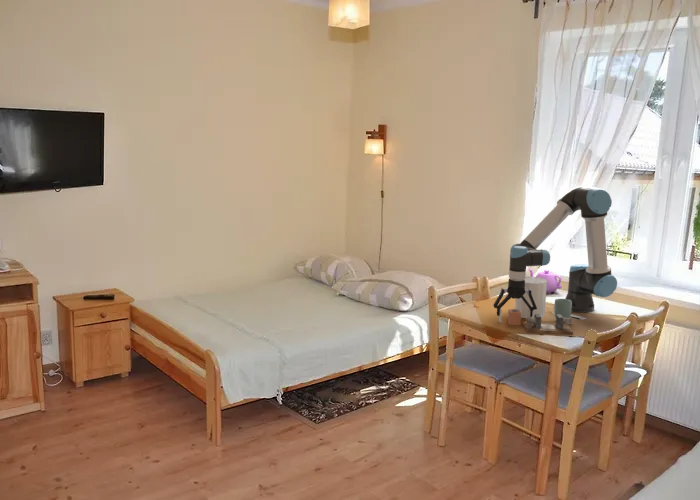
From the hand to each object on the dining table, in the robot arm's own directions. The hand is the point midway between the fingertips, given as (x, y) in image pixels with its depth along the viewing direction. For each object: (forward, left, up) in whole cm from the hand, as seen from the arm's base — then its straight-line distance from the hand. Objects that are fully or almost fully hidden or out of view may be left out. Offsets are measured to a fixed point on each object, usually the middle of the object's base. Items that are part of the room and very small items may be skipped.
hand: (513, 322), depth 292 cm
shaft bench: (-14, +8, 0) cm, 16 cm away
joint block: (0, 0, 0) cm, 0 cm away
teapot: (-27, -63, 0) cm, 69 cm away
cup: (-24, -7, 0) cm, 25 cm away
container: (-10, -15, -1) cm, 18 cm away
